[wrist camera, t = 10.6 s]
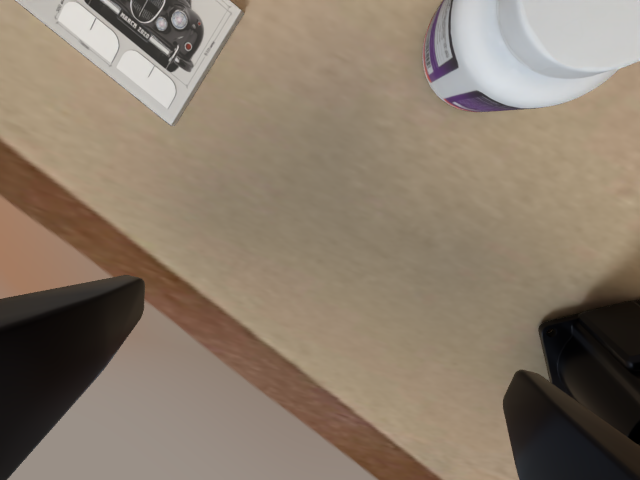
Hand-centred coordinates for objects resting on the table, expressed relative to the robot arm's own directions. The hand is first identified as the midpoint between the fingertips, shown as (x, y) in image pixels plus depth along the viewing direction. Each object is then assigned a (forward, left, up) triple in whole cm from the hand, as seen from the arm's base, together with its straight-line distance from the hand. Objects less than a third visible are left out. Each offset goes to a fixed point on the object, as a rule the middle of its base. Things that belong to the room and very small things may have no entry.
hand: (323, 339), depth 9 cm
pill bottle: (+5, -8, -12) cm, 16 cm away
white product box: (+16, +8, -12) cm, 21 cm away
